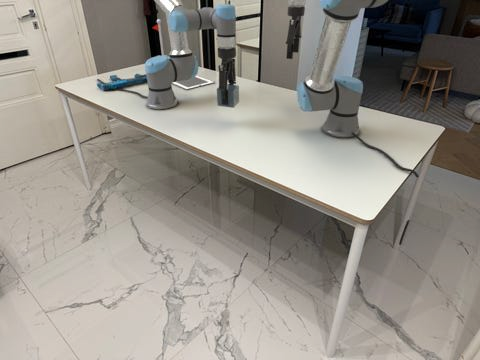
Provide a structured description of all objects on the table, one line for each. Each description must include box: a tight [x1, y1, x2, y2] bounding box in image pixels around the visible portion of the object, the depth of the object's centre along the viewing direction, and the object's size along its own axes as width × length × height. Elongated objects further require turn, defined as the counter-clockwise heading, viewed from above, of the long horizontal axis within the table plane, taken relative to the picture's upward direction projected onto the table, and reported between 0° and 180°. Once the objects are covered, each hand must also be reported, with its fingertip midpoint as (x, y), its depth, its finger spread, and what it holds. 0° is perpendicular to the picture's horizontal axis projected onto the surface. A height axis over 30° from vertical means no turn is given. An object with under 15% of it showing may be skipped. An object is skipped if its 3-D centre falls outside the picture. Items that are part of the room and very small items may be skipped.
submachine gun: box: [96, 73, 148, 91], centre depth 208 cm, size 34×4×25 cm
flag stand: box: [151, 18, 170, 58], centre depth 235 cm, size 13×13×30 cm
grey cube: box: [216, 83, 240, 109], centre depth 149 cm, size 8×7×8 cm
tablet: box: [171, 74, 215, 90], centre depth 212 cm, size 32×20×1 cm, turn 41°
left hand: (228, 101), depth 150 cm, fingers closed on grey cube, 7 cm apart
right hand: (292, 55), depth 163 cm, fingers open, 13 cm apart
